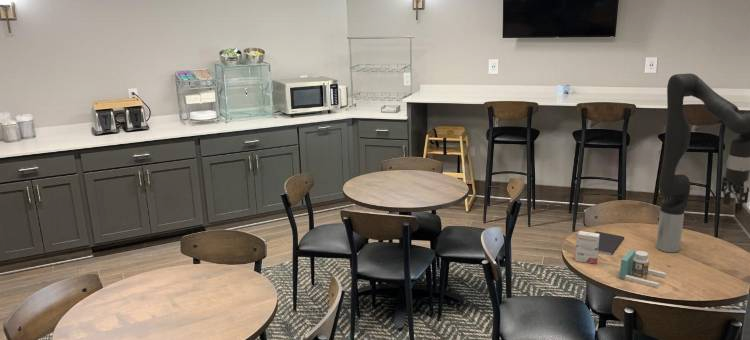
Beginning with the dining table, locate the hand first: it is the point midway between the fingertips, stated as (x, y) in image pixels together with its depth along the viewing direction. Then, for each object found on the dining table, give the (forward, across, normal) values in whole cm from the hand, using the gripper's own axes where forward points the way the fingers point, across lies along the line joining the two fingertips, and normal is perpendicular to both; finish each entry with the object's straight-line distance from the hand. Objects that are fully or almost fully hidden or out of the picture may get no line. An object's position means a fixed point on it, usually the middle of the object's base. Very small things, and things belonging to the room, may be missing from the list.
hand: (731, 208), depth 226 cm
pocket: (+28, +2, -31) cm, 42 cm away
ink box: (+28, -14, -48) cm, 57 cm away
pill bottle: (+28, +1, -32) cm, 43 cm away
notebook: (+29, -31, -36) cm, 55 cm away
